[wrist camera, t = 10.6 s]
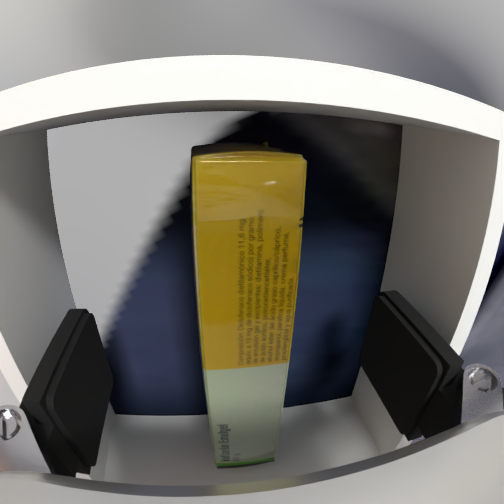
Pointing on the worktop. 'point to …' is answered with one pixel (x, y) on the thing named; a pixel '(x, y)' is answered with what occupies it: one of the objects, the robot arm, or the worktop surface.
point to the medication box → (245, 290)
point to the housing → (272, 100)
